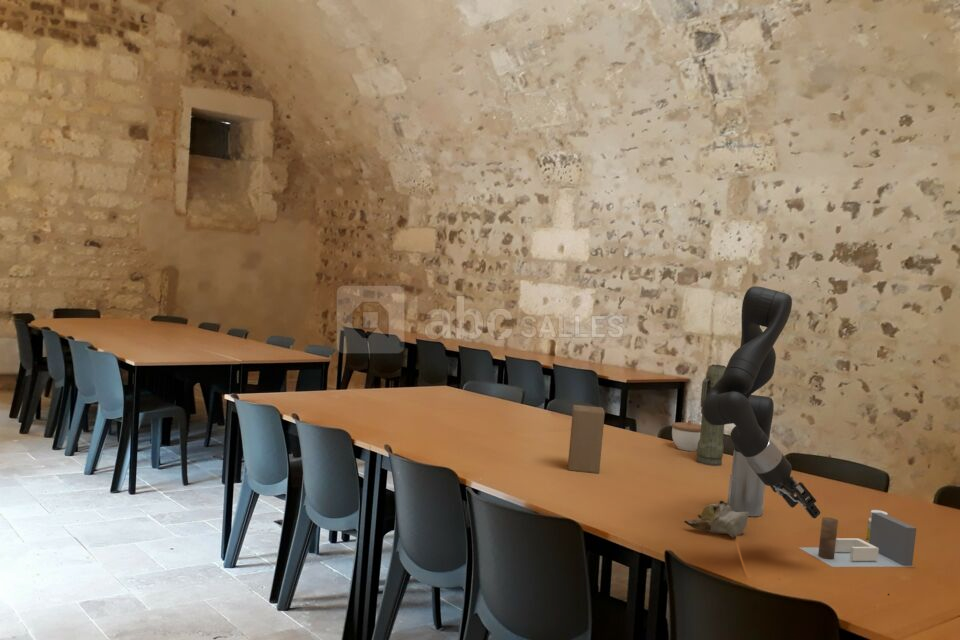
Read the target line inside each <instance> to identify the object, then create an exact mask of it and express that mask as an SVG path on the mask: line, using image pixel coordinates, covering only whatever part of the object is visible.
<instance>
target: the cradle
mask: <svg viewBox="0 0 960 640" xmlns="http://www.w3.org/2000/svg"><path fill="white" fill-rule="evenodd" d="M878 551H879V548H877V547H875V546H873V545H871V544H869V542H867V541H864V540H863V539H862V538H858V537H857V538H856V537H855V538H853V537H851V538H850V537H849V538H846V537H845V538H841V537H840V538H839V537H836V545H835V552H850V560H852V561H877V560H878Z"/></svg>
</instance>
